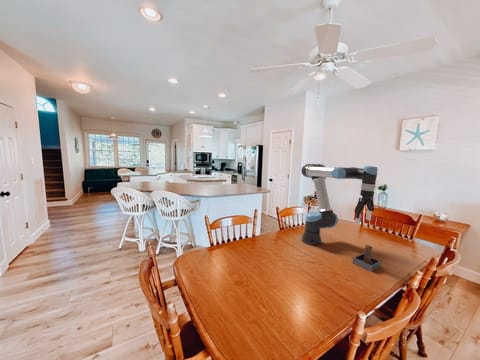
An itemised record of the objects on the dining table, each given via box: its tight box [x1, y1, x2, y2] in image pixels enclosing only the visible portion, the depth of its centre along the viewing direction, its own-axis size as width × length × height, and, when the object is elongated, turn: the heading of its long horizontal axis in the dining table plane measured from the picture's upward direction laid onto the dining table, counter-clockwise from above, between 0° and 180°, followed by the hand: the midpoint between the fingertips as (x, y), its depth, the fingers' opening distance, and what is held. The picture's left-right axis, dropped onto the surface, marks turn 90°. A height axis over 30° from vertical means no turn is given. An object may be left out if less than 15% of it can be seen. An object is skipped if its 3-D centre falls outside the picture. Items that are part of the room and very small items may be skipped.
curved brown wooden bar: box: [363, 244, 373, 264], centre depth 128 cm, size 3×2×12 cm, turn 32°
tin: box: [352, 253, 382, 273], centre depth 129 cm, size 12×12×4 cm
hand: (362, 221), depth 134 cm, fingers open, 13 cm apart
